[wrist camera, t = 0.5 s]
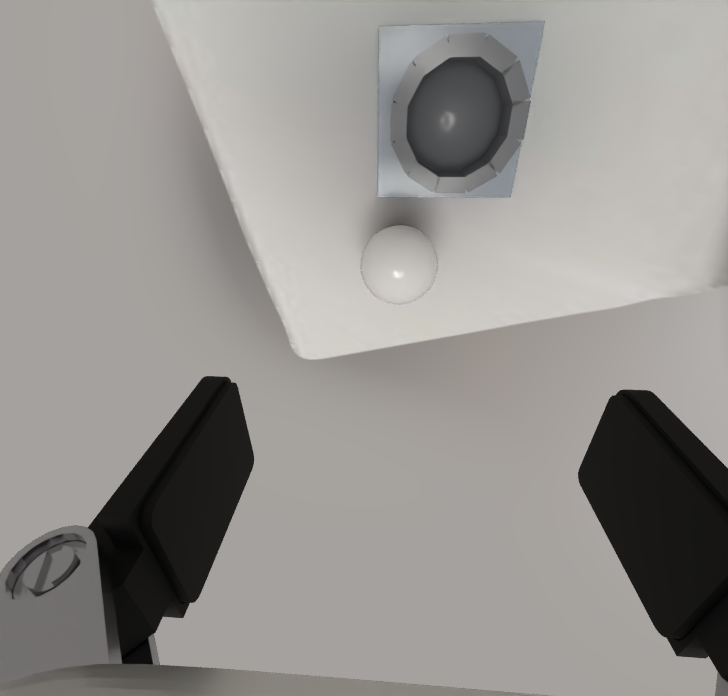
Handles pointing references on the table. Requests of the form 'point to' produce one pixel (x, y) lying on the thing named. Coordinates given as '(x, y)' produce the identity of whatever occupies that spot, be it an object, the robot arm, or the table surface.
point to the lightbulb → (399, 264)
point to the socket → (453, 107)
